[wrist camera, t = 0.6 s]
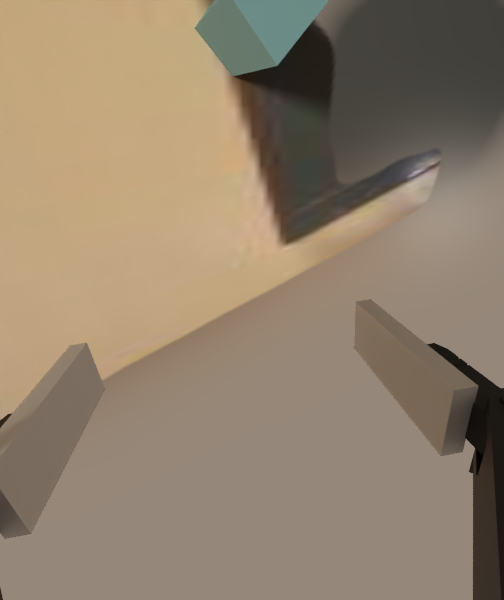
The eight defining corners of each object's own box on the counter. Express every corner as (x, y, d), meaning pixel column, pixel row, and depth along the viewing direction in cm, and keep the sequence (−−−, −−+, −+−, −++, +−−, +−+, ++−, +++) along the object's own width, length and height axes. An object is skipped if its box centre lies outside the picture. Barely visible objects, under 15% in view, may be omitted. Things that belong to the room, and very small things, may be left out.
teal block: (194, 28, 28) (226, -10, 18) (229, -23, 27) (283, -90, 17) (232, 76, 31) (277, 65, 21) (265, 32, 29) (328, 1, 20)
